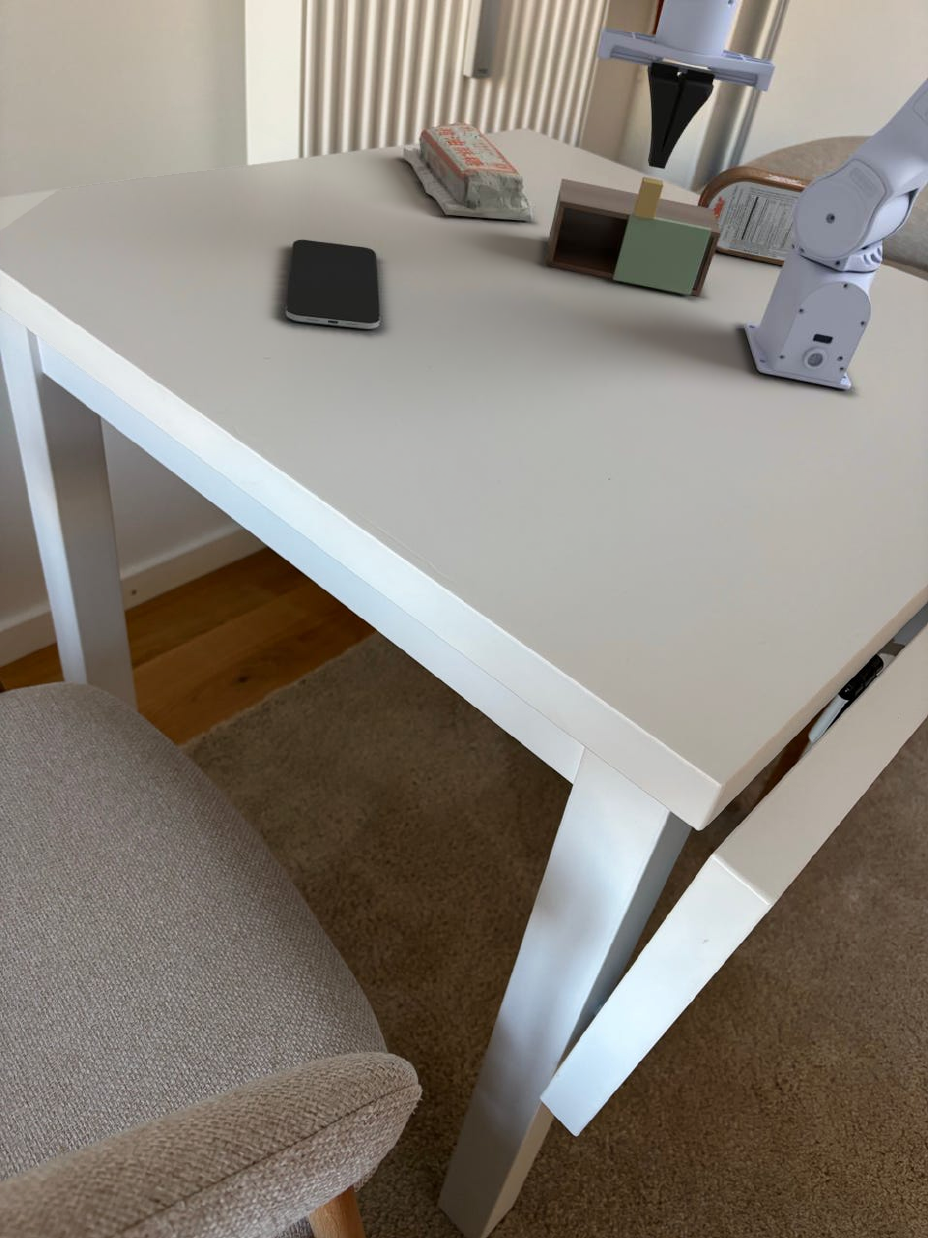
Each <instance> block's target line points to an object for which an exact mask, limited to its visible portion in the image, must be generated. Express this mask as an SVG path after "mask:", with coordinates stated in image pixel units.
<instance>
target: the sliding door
mask: <svg viewBox="0 0 928 1238" xmlns="http://www.w3.org/2000/svg"><path fill="white" fill-rule="evenodd" d="M663 189H664V181H663V180H661V179H658V178H657V179H656V178H651V177H646V176H643V177H642V179H641V182H640V186H639V189H638V193H637V194H638V197H637V200H636V204H635V208H634V213H633V212H631V213H630V216H629V219H628V223H627V227H626V231H625V234H624V238H623V242H622V245H621V249H620V253H619V257H618V260H617V264H616V268H615V271H614V275H613V279H612V280H613V281H618V282H622V283H627V284H632V285H638V286H641V287H642V286H643V287H648V288H652V289H657V290H662V291H668V292H672V293H678V294H683V295H688V296H691V291H692V288H693V285H694V282H695V279H696V276H697V273H698V270H699V267H700V264H701V261H702V258H703V255H704V252H705V249H706V246H707V243H708V240H709V237H710V234H711V228H707V227H702V226H697V225H692V224H687V223H682V222H677V221H672V220H667V219H662V218H657V217H655V213H656V210H657V206H658V203H659V199H660V198H661V196H662V193H663Z"/></svg>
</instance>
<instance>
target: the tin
mask: <svg viewBox="0 0 928 1238" xmlns="http://www.w3.org/2000/svg"><path fill="white" fill-rule="evenodd" d="M814 180H815V179H809V178H805V177H800V176H795V175H791V174H787V173H786V174H785V173H782V172H777V171H773V170H769V169H765V168H760V167H756V166H751V165H738V166H733V167H730V168H728V169H725V170H723V171H721V172H720V173H718V174H716V175H715V176H714V177H713V178H712V179H710V181H709V182H708V183H707V184H706V186H705V187H704V188H703V189H702V191H701V194H700V196H699V199H698V202H697V205H696V206H700V207H705V208H710V209H713V211H714V214H715V217H716V220H717V223H718V226H719V230H720V233H721V234H720V237H719V240H718V243H717V246H716V249H715V251H718V252H719V253H723V254H727V255H731V256H736V257H741V258H746V259H749V260H751V259H752V260H754V261H755V260H756V261H760V262H765V263H769V264H775V265H778V266H783V264H784V261H785V258H786V256H787V253H788V251H789V248H790V246H791V243H792V240H793V238H794V235H795V234H794V230H793V212H794V208H795V205H796V202H797V200H798V198H799V196H800V195H801V193H802V192H803V190H804V189H805V188H806V187H807V186H808V185H809V184H810V183H811V182H812V181H814Z"/></svg>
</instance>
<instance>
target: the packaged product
mask: <svg viewBox="0 0 928 1238" xmlns="http://www.w3.org/2000/svg"><path fill="white" fill-rule="evenodd" d="M418 141H419V148H416V147H413V148H412V149H411V150H409V149H406V147H403V159H404V160H405V161H406V162H407V163H409V165H411V166H412V169H413V171H414V172H415V174H416V175H417V177H418V179H419V180H420V182H421V183H422V185H423V186H422V187H423V188H424V190H425V193H426V194H428V195H429V196H432V197H433V198H434V200H435V201H436V202H437V203H438V205H439V206H440V208H441V209H442V211H443V212H444V214H445V215H446V216H460V217H473V218H484V219H485V218H487V219H499V220H513V221H525V222H527V221H528V222H532V221H533V218H534V214H535V209H536V206H535V205H533V204H532V202H531V201H530V200H529V199H528V198H527V196H526V195H524V193H523V189H524V186H523V180H524V179H523V175H521V174H520V173H519V172H518V170H517V169H516V168H515V167H514V166H513V165H512V164H511V162H509V160H508V159H506V157H505V156H504V155H503V154H502V153H501V152H500V151H499V150H498V149H497V148H496V146H494V144H492V142H491V141H490V140H489V139H488V138H486V136H485V135H484V134H483V133H482V132H481V130H479V128H477V127H474V126H472V125H470V124H469V123H466V122H458V121H457V122H453V123H449V124H441V125H438V126H432V127H428V128H425V129H423V130H422V131H421V133H420V135H419V138H418Z"/></svg>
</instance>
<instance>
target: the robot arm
mask: <svg viewBox="0 0 928 1238" xmlns="http://www.w3.org/2000/svg"><path fill="white" fill-rule="evenodd" d="M738 3H739V0H664V1H663V5H662V7H661V12H660V16H659V21H658V25H657V28H656V32H655V34H648V33H643V32H635V31H626V30H620V29H614V28H609V27H604V26H603V27H601V29H600V30H601V31H600V36H599V40H598V45H597V49H596V58H598V59H602V60H607V61H609V60H616V61H621V62H625V63H630V64H635V65H641V66H646V67H647V70H646V71H647V79H648V87H649V97H650V114H651V116H650V117H651V127H650V129H651V130H650V131H651V132H650V145H649V152H648V158H647V163H648V166H649V167H652V168H656V169H661V170H665V169H666V166H667V164H668V162H669V159H670V157H671V155H672V153H673V151H674V149H675V147H676V145H677V144H678V142H679V140H680V138H681V137H682V135H683V133H684V132H685V130H686V129H687V127H688V126H689V124H690V123H691V122H692V120H693V119H694V118H695V116H696V115H697V114H698V112H699V111H700V110H701V108H702V107H703V106H704V105H705V104H706V102H707V101H708V100H709V98H710V97H711V95H712V94H713V91H714V88H715V85H714V80H716V81H721V82H725V83H726V82H727V83H731V84H735V85H741V86H745V87H750V88H754V90H757V91H763V92H768V91H769V88H770V85H771V82H772V79H773V76H774V73H775V70H776V65H775V63H774V62H773V61H772V60H768V59H763V58H758V57H754V56H750V55H746V54H742V53H740V52H739V53H738V52H735V51H731V50H728V49H725V47H726V43H727V41H728V37H729V34H730V30H731V27H732V24H733V20H734V17H735V13H736V10H737V7H738ZM664 59H666V60H669V61H666V60H664ZM671 61H673V62H671ZM676 62H677V63H676ZM702 67H703V68H702ZM813 180H814V181H812V182H811V183H810V184H809V185H808V186H807V187H806V188H805V189H804V190H803V192H802V193H801V195H800V196H799V198H798V200H797V202H796V205H795V208H794V212H793V230H794V234H795V235H794V238H793V240H792V243H791V246H790V248H789V251H788V253H787V256H786V258H785V261H784V264H783V265H781V266H782V267H781V269H780V272H779V274H778V277H777V279H776V281H775V284H774V287H773V289H772V292H771V294H770V297H769V300H768V301H767V302H768V303H767V304H766V308H765V310H764V312H763V315H762V317H761V320H760V323H756V322H749V321H747V322H745V324H744V327H743V328H744V331H745V334H746V338H747V340H748V344H749V347H750V351H751V353H752V357H753V360H754V364H755V365H756V366H755V367H756V369H757V371H758V372H760V373H762V374H766V375H770V376H771V375H772V376H776V377H780V378H781V377H782V378H786V379H791V380H792V379H793V380H796V381H802V382H807V383H811V384H817V385H822V386H828V387H831V388H832V387H833V388H836V389H837V388H838V389H841V390H849V389H851V386H852V383H851V381H850V378H849V376H848V374H847V370H848V367H849V365H850V364H851V361H852V359H853V357H854V356H855V353H856V351H857V349H858V347H859V344H860V342H861V340H862V338H863V336H864V334H865V331H866V329H867V327H868V325H869V322H870V320H871V316H872V302H871V298H870V297H871V296H870V288H871V285H872V283H873V281H874V279H875V277H876V275H877V272H878V270H879V267H880V266H881V263H882V262H883V242H884V240H886V239H888V238H891V237H892V236H893V235H894V234H896V233H897V232H898V231H899V230H900V229H902V227H903V226H904V225H905V223H906V222H907V221H908V219H909V216H910V214H911V212H912V209H913V206H914V204H915V201H916V199H917V197H918V195H919V194H920V192H921V191H922V190H924V188H925V187H926V186H927V185H928V77H927V78H926V79H925V80H924V81H923V82H922V83H921V85H920V86H919V87H918V88H917V89H916V90H915V91H914V92H913V94H912V95H911V96H910V97H909V98H908V99H907V100H906V102H904V104H903V105H902V106H901V107H900V108H899V110H898V111H897V112H895V114H894V115H893V117H891V118H890V120H889V121H888V122H887V123H886V124H885V125H884V126H882V127H881V128H879V130H878V131H876V132H875V133H874V134H873V135H872V136H870V137H869V138H868V139H866V141H864V142H863V143H862V144H860V145H859V146H858V147H857V148H855V150H853V151H852V152H851V154H850V155H849V156H847V158H846V160H845V161H843V163H842V164H840V165H839V166H838V167H836V168H835V169H833V170H832V171H830V172H827V173H825V174H823V175H821V176H818V177H817V178H815V179H813Z"/></svg>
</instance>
